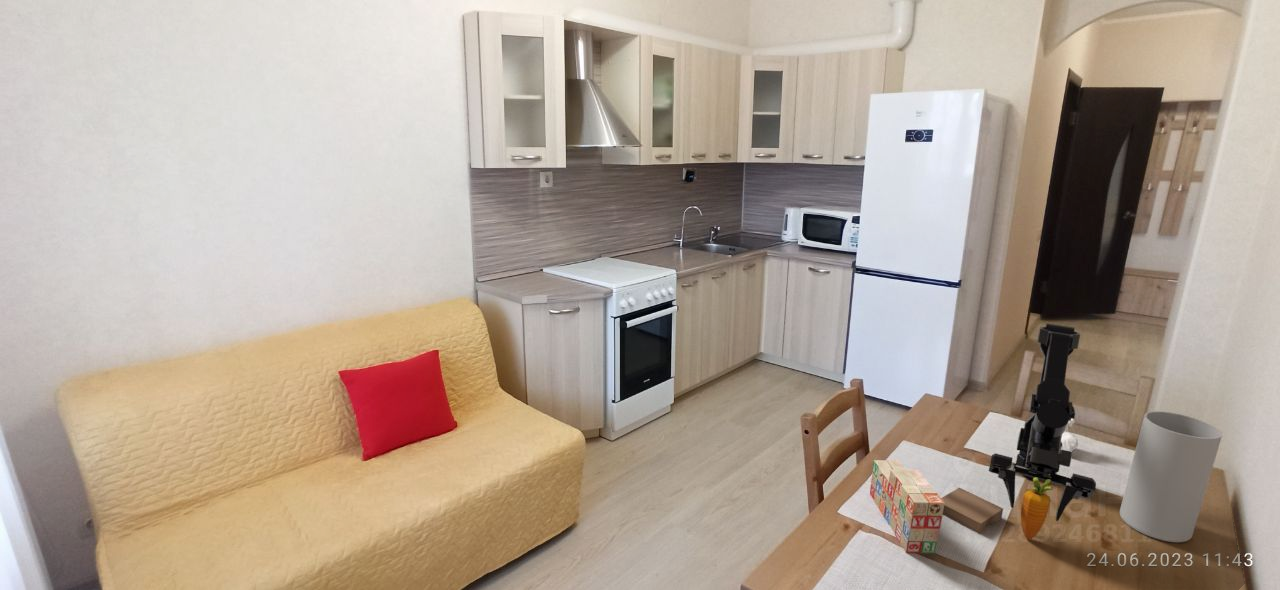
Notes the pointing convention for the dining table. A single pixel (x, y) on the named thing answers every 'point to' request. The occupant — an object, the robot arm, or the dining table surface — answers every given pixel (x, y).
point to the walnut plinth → (970, 510)
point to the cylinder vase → (1169, 475)
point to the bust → (1069, 438)
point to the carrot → (1034, 508)
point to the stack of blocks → (907, 505)
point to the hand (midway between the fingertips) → (1034, 513)
